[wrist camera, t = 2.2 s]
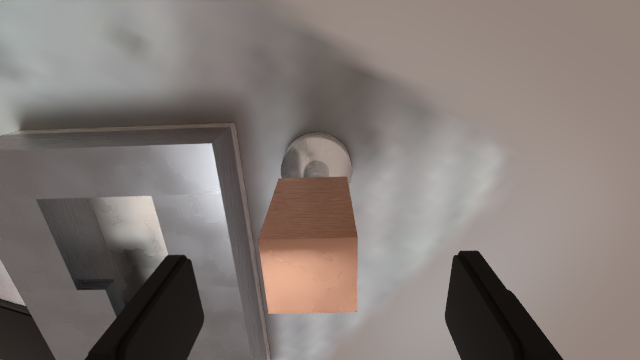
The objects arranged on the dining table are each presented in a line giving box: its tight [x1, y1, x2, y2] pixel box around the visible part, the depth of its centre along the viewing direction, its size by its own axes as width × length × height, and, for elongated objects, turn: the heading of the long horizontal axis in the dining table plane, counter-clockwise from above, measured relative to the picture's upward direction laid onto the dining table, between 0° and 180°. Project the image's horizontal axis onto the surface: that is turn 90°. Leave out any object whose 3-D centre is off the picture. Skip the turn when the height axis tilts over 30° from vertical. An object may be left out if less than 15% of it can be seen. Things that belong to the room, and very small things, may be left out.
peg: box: [258, 132, 358, 314], centre depth 16 cm, size 4×4×11 cm
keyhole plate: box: [0, 123, 271, 360], centre depth 22 cm, size 22×14×4 cm, turn 2°
